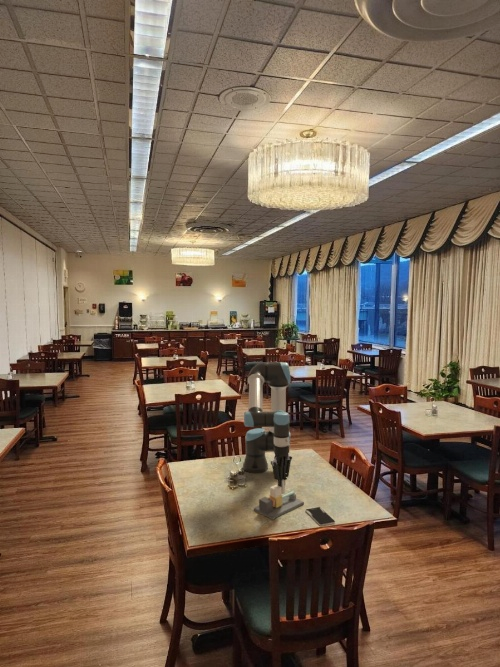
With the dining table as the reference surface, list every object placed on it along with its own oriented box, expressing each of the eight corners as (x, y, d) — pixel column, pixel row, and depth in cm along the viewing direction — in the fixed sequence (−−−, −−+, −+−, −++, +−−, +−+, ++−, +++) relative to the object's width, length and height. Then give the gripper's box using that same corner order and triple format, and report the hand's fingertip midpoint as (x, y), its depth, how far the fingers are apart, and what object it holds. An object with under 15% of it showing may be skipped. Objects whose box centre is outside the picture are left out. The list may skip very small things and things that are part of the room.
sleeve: (269, 504, 196) (269, 486, 196) (275, 501, 199) (275, 484, 199) (276, 507, 193) (276, 490, 193) (282, 505, 196) (282, 487, 195)
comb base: (254, 510, 195) (254, 497, 195) (285, 496, 210) (285, 483, 209) (271, 519, 186) (271, 505, 186) (303, 504, 201) (303, 491, 200)
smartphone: (320, 524, 180) (304, 508, 194) (320, 527, 180) (304, 511, 194) (335, 521, 182) (319, 506, 197) (335, 524, 183) (319, 509, 197)
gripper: (277, 449, 190) (277, 499, 191) (296, 443, 199) (296, 491, 200) (266, 445, 196) (266, 494, 197) (285, 440, 204) (285, 486, 206)
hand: (281, 492), depth 198 cm, fingers closed
